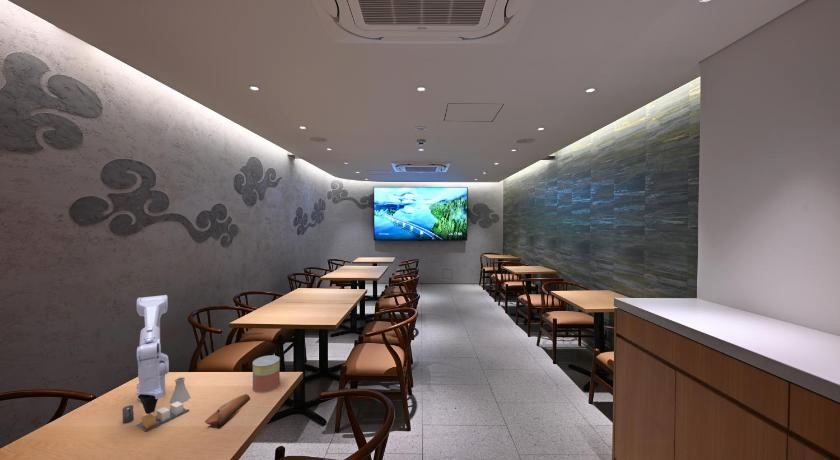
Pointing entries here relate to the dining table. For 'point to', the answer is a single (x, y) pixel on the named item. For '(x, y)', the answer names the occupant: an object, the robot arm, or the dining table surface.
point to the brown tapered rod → (226, 411)
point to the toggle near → (176, 408)
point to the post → (128, 414)
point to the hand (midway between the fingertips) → (150, 412)
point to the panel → (159, 422)
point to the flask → (180, 392)
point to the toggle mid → (163, 414)
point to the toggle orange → (148, 420)
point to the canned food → (266, 373)
